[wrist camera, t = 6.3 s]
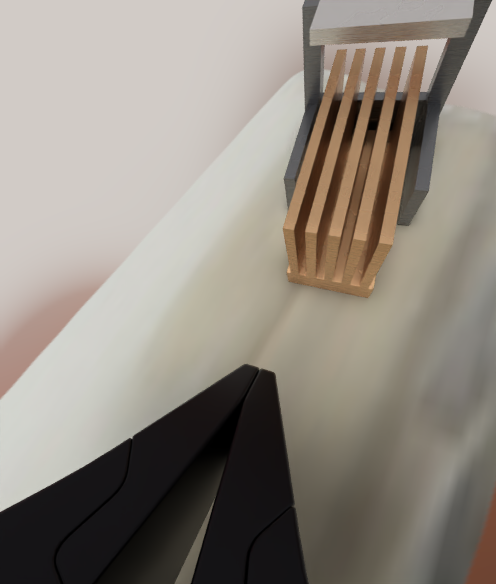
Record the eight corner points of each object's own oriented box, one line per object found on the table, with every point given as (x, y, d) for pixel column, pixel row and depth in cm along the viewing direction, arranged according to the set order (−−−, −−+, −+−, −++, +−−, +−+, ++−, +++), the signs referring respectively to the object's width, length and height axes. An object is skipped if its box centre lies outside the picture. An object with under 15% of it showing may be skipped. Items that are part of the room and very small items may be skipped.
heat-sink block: (367, 298, 20) (399, 245, 13) (288, 282, 22) (277, 227, 15) (396, 151, 24) (433, 45, 17) (326, 147, 26) (332, 50, 18)
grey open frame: (411, 225, 21) (490, 92, 12) (286, 210, 24) (269, 94, 15) (424, 138, 24) (500, -31, 14) (309, 134, 27) (307, -9, 17)
